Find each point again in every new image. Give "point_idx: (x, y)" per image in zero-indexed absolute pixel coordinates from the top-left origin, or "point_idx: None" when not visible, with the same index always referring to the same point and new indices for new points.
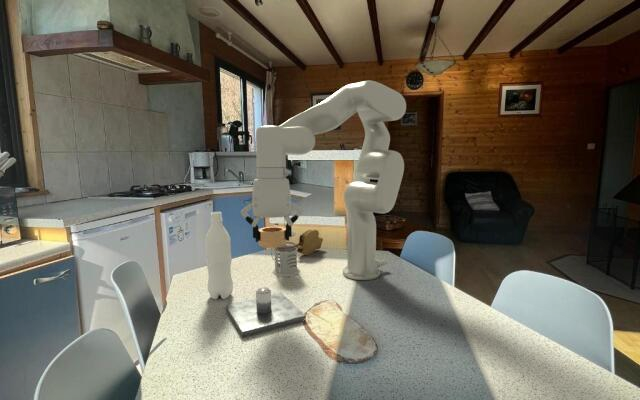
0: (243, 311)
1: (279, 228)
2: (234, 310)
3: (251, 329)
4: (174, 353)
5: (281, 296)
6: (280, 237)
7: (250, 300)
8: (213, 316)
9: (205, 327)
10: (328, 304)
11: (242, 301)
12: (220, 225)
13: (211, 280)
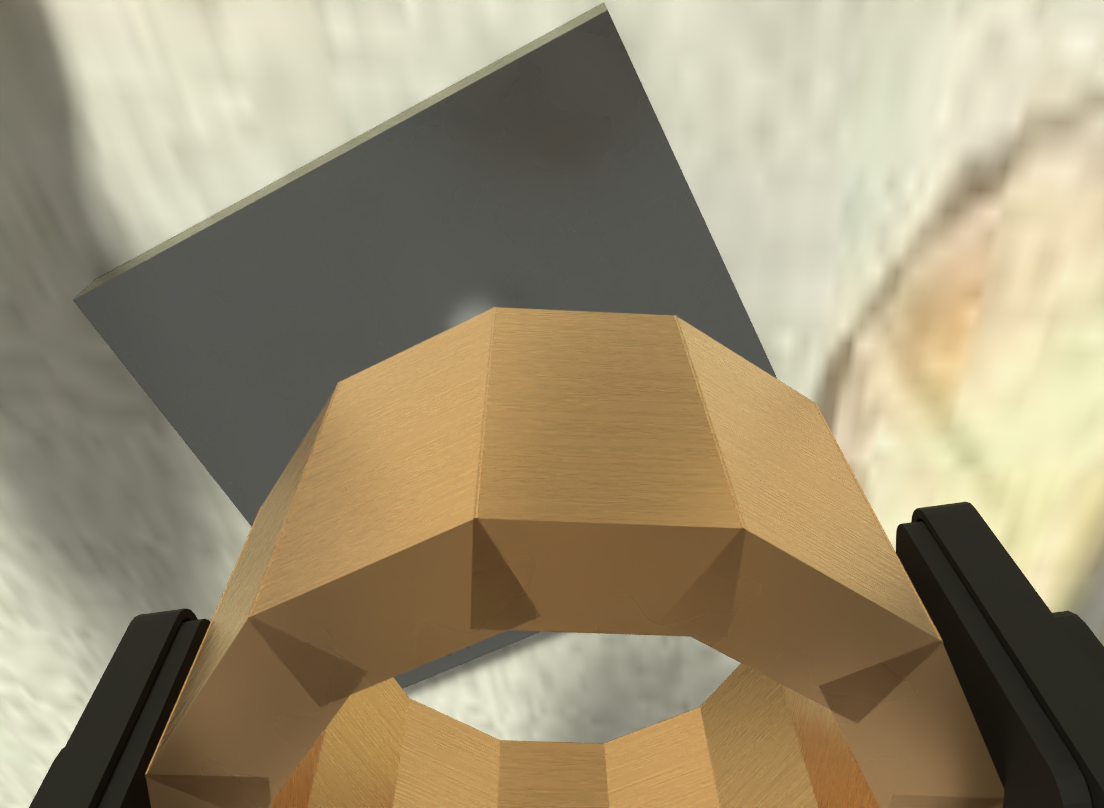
0: (297, 429)
1: (795, 684)
2: (208, 410)
3: (440, 671)
4: (39, 778)
5: (617, 121)
6: None
7: (293, 207)
8: (36, 382)
9: (65, 538)
10: (1087, 201)
11: (215, 229)
12: None
13: None
